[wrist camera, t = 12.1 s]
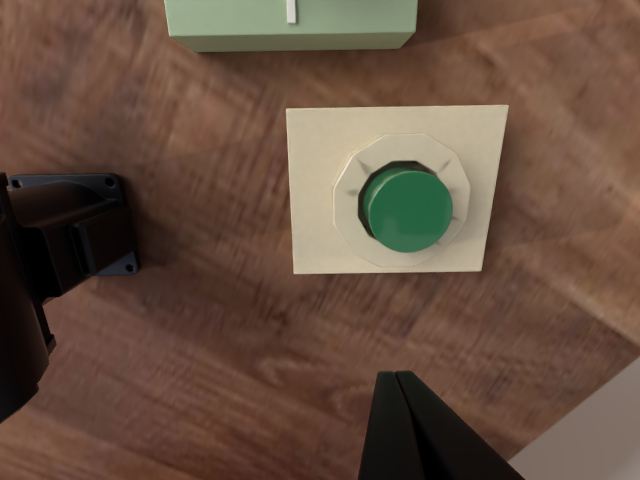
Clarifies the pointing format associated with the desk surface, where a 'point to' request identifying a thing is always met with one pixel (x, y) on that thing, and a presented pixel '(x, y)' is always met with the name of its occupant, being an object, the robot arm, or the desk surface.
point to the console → (290, 24)
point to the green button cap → (407, 209)
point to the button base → (372, 159)
